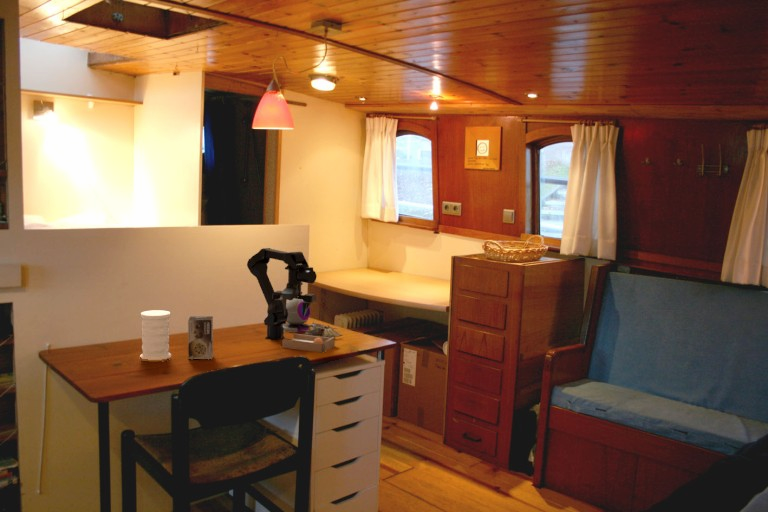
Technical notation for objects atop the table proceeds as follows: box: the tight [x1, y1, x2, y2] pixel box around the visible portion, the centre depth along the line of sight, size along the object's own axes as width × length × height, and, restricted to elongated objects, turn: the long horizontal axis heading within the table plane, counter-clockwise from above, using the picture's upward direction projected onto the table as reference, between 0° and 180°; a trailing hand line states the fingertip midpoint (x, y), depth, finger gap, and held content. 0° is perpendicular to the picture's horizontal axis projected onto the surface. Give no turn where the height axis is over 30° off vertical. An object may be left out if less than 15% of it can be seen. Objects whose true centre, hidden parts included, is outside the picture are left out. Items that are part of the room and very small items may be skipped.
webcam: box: [283, 298, 311, 333], centre depth 313 cm, size 13×13×15 cm
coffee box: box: [187, 315, 214, 360], centre depth 258 cm, size 9×6×16 cm
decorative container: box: [139, 309, 172, 360], centre depth 255 cm, size 12×12×18 cm
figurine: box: [302, 321, 343, 338], centre depth 302 cm, size 20×6×17 cm
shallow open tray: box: [281, 333, 336, 353], centre depth 282 cm, size 19×12×4 cm, turn 72°
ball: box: [314, 338, 323, 344], centre depth 281 cm, size 4×4×4 cm
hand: (293, 315), depth 287 cm, fingers open, 9 cm apart
